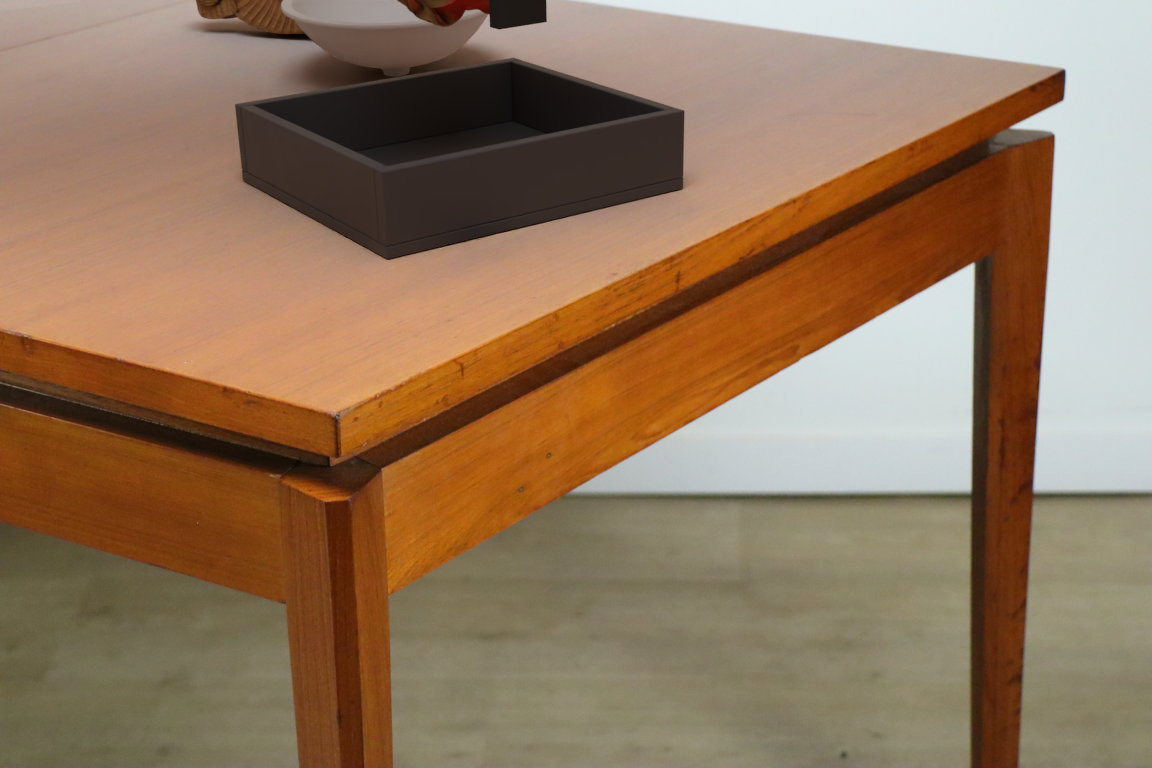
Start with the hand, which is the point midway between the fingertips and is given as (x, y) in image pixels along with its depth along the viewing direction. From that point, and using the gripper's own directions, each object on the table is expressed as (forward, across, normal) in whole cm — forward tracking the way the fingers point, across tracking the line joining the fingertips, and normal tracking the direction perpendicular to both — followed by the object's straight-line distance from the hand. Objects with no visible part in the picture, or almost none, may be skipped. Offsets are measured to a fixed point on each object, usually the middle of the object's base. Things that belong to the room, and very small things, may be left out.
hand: (453, 6), depth 75 cm
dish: (+9, +24, -10) cm, 28 cm away
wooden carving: (+9, +40, -10) cm, 42 cm away
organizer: (+9, 0, 0) cm, 9 cm away
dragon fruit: (+1, 0, 0) cm, 1 cm away
